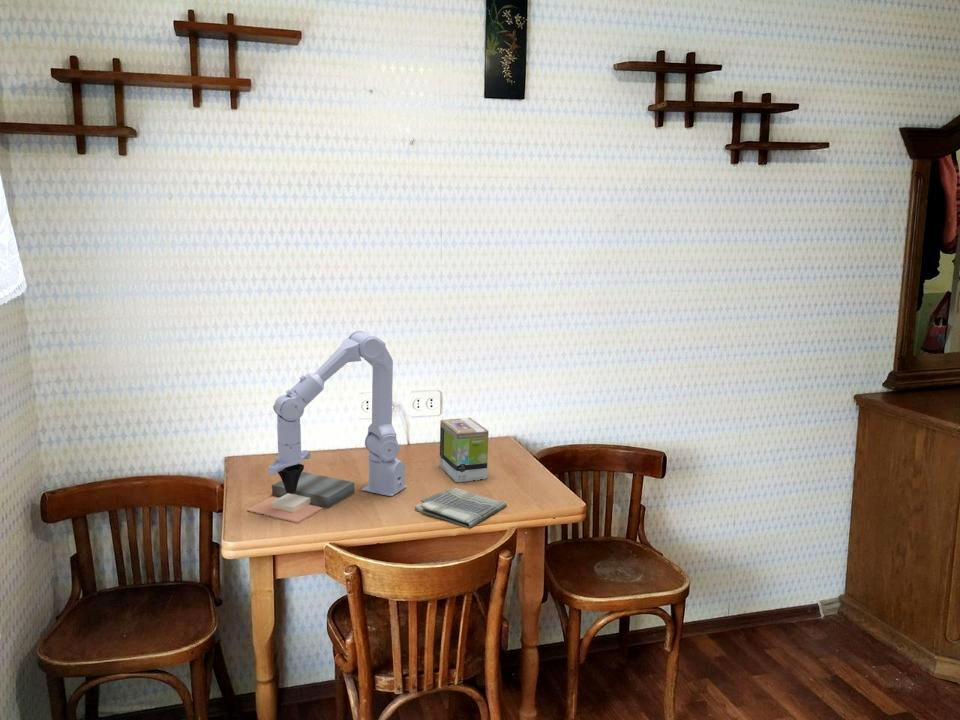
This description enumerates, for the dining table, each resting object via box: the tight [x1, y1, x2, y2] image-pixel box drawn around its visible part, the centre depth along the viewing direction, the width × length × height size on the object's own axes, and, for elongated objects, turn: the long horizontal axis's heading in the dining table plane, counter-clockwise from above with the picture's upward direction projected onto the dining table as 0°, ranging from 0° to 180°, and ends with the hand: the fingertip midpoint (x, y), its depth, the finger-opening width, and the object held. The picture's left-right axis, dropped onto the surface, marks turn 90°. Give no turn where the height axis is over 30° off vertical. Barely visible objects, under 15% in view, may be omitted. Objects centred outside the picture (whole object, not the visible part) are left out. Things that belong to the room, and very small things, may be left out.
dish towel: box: [414, 487, 507, 529], centre depth 200 cm, size 19×18×3 cm
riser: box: [271, 471, 356, 509], centre depth 206 cm, size 18×12×3 cm, turn 65°
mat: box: [246, 496, 324, 524], centre depth 196 cm, size 16×10×1 cm, turn 65°
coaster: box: [271, 493, 311, 513], centre depth 198 cm, size 7×7×2 cm
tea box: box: [439, 417, 490, 483], centre depth 224 cm, size 15×10×15 cm, turn 22°
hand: (290, 492), depth 198 cm, fingers closed
